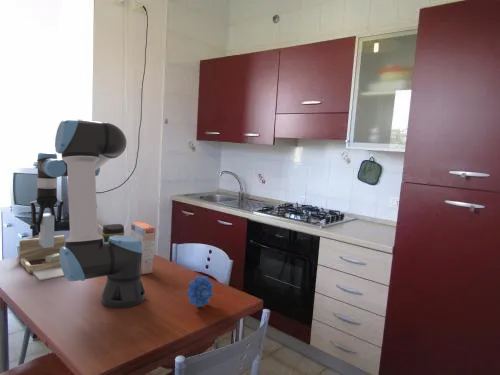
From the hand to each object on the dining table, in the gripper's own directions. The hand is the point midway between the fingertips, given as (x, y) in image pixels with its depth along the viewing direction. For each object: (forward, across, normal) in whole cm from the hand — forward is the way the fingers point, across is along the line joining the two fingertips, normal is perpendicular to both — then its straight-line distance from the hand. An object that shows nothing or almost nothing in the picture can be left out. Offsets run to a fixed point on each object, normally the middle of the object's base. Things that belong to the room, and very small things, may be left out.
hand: (46, 238), depth 162 cm
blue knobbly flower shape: (+12, -30, +78) cm, 84 cm away
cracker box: (+12, -31, +31) cm, 45 cm away
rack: (+11, 0, +3) cm, 11 cm away
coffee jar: (+11, -24, +16) cm, 31 cm away
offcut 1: (+12, -1, +9) cm, 14 cm away
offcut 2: (+9, -1, +8) cm, 12 cm away
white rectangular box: (+3, 0, 0) cm, 3 cm away
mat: (+11, +2, +17) cm, 20 cm away
